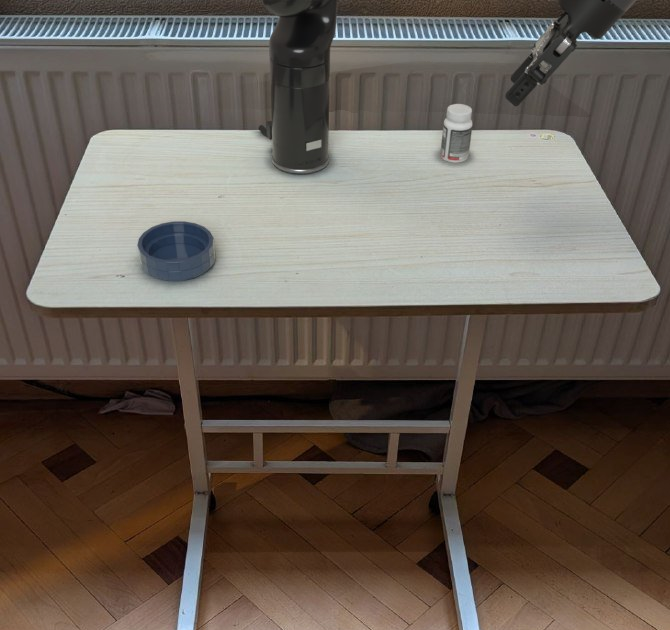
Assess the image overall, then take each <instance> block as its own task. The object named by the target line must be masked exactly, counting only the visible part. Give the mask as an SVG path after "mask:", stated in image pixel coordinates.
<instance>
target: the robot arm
mask: <svg viewBox="0 0 670 630" xmlns="http://www.w3.org/2000/svg"><path fill="white" fill-rule="evenodd" d="M260 1H261V3H262V5H263V6H264V8H265V9H266V11H268V12H269V13H270V14H272V15H275V16H277V17H278V20H277V23H276V25H275V27H274V29H273V31H272V33H271V34H270V37H269V40H268V55H269V80H270V81H269V83H270V113H271V115H270V116H271V120H267V121H266V126H264V125H262V124H260V125H259V126H258V130H259V131H260V133H261V134H262V135H263V136H265V137H268V139H269V140H270V141H271V148H272V150H271V151H272V154H271V162H272V164H273V165H274V167H276V169H278V170H280V171H282V172H285V173H289V174H295V175H296V174H297V175H305V174H306V175H307V174H312V173H313V174H314V173H317V172H320V171H321V170H323V169H324V168H326V167H327V166H328V164H329V162H330V161H329V160H330V156H329V140H330V95H331V94H330V93H331V92H330V88H331V87H330V86H331V47H332V43H333V40H334V38H335V35H336V28H337V15H338V0H260ZM636 1H637V0H557V4H558V6H559V7H560V9H561V10H562V12H561V13H560V14H559V17H557V18H556V19H554V20H553V21H552V22H551V23H549V25H548V27H547V28H546V30H545V31H544V32H543V33H542V35H540V37H539V38H538V39H537V40H536V41H535V43H534V44H533V47H532V48H531V49H530V50H529V53H528V56H527V57H526V58H525V59H524V60H523V61H522V63H521V64H520V65H519V66H518V67H517V68H516V69H515V70H514V72H513V73H512V74H511V76H510V81H511V82H512V83H513V84H512V85H511V86H510V88H509V89H508V90H507V91H506V93H505V96H504V97H505V99H506V100H507V101H508V102H509V103H510V104H511V105H513V106H514V107H518V106H520V105H521V103H522V102H524V101H525V99H527V97H528V96H529V95H530V93H531V92H532V91H534V89H535V88H536V87H537V86H542V85H544V84H545V83H547V81H548V79H549V78H550V77H551V76H552V75H553V73H555V71H557V70H558V69H559V67H560V66H561V65H562V64H563V62H565V60H567V58H568V57H569V55H571V54H572V53H573V52H575V50H576V48H577V47H578V45H577V42H578V40H577V39H578V38H580V36H581V34H583V33H586V34H587V35H588V36H589V37H591V38H593V39H594V40H600V39H602V38H603V37H604V36H605V35H606V34H607V33H608V32H609V30H611V28H612V27H613V26H614V25H615V24H616V23H617V22H618V21H619V20H620V19H621V18H622V16H624V14H625V13H626V12H628V10H629V9H630V8H631V6H633V5H634V4H635V2H636ZM541 67H542V68H544V70H543V71H542V70H541Z"/></svg>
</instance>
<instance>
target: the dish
mask: <svg viewBox="0 0 670 630" xmlns="http://www.w3.org/2000/svg"><path fill="white" fill-rule="evenodd" d="M214 239H215V238H214V235H213V234H212V231H211V230H209V229H208V228H206V227H205V226H203V225H201V224H198V223H196V222H191V221H185V220H183V221H181V220H179V221H178V220H177V221H168V222H162V223H158V224H156V225H154V226H151V227H149V228H148V229H147V230H144V232H143V233H142V234H141V235H140V236H139V238H138V239H137V240H138V241H137V251H138V259H139V263H140V266H141V268H142V270H143V271H144V272H145V273H146V274H148V275H149V276H151V277H153V278H156V279H159V280H163V281H168V282H181V281H188V280H192V279H195V278H197V277H199V276H201V275H203V274H205V273H206V272H207V271H208V270H209V269H211V268H212V266H213V265H214V263H215V261H216V260H215V259H216V249H215V240H214Z"/></svg>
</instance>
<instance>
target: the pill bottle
mask: <svg viewBox="0 0 670 630" xmlns="http://www.w3.org/2000/svg"><path fill="white" fill-rule="evenodd" d="M472 115H473V109H472V108H471V106H469V105H467V104H465V103H464V104H462V103H453V104H450V105H448V107H447V109H446V117H445V119H444V121H443V125H442V126H443V127H442V134H441V135H442V136H441V143H440V154H439V155H440V158H441V159H442V160H444V161H446V162H449V163H454V164H457V163H458V164H459V163H463V162H465V161H467V160H468V158H469V153H470V148H471V140H472V131H473V120H472Z"/></svg>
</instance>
